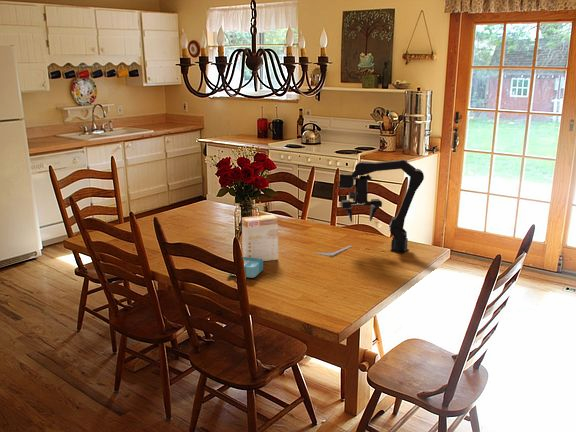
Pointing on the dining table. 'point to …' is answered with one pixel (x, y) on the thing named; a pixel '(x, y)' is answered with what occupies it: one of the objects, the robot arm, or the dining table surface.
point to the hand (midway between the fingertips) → (360, 221)
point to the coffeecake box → (260, 237)
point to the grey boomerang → (334, 252)
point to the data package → (252, 266)
